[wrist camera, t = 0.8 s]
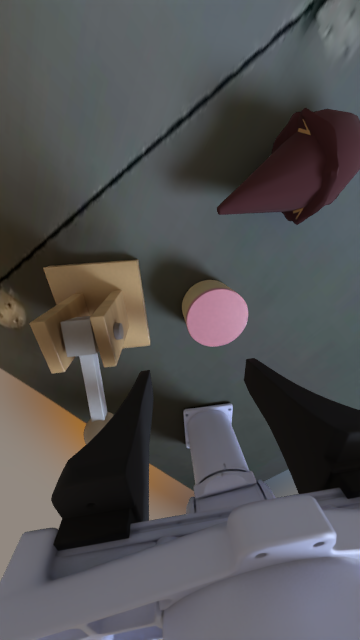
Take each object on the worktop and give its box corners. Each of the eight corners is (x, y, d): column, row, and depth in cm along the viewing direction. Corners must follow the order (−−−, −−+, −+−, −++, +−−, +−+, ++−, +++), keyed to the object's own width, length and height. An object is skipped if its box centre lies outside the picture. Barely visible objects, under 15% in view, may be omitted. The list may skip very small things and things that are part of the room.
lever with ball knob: (124, 429, 18) (117, 456, 16) (94, 434, 18) (80, 461, 15) (106, 314, 16) (93, 319, 14) (72, 317, 16) (51, 323, 13)
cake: (231, 326, 24) (245, 343, 20) (183, 331, 23) (187, 349, 20) (234, 277, 21) (251, 286, 17) (180, 282, 21) (185, 292, 17)
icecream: (246, 266, 14) (415, 187, 15) (233, 143, 10) (484, 27, 10) (210, 244, 20) (334, 187, 20) (191, 158, 15) (353, 83, 15)
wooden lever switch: (150, 340, 23) (146, 389, 16) (78, 348, 23) (38, 402, 15) (138, 259, 19) (125, 272, 12) (49, 266, 19) (-25, 285, 11)
